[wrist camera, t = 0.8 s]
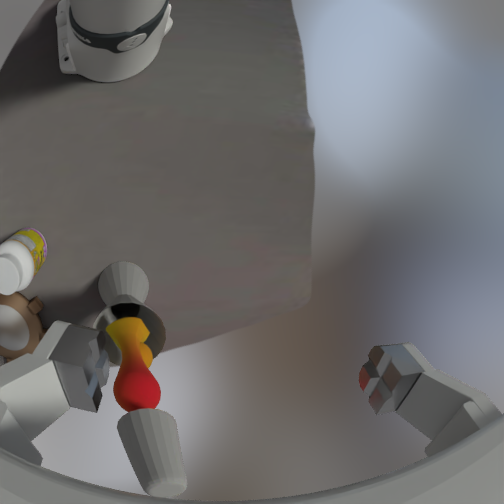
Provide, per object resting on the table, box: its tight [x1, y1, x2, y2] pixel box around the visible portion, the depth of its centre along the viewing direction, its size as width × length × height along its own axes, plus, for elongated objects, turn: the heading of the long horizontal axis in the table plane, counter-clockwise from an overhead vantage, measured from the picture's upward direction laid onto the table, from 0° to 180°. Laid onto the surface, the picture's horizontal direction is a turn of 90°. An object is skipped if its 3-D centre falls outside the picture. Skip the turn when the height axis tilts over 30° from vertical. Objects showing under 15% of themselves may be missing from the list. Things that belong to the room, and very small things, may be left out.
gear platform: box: [0, 291, 48, 363], centre depth 33 cm, size 18×18×2 cm
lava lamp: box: [93, 262, 187, 498], centre depth 28 cm, size 9×9×35 cm
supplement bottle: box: [0, 228, 47, 295], centre depth 28 cm, size 7×7×13 cm
